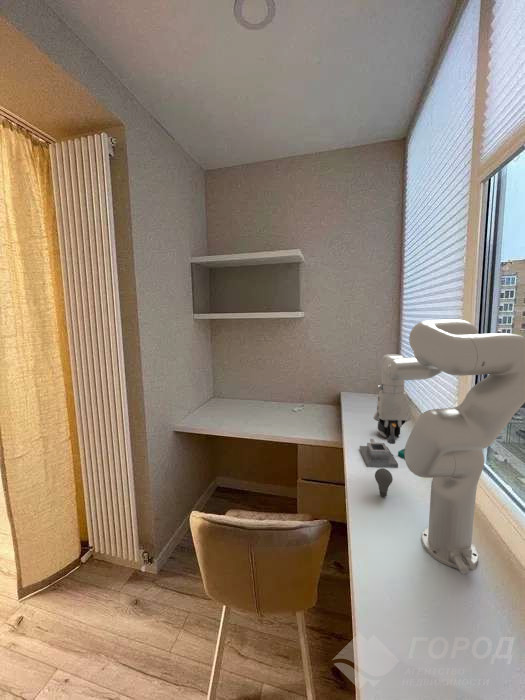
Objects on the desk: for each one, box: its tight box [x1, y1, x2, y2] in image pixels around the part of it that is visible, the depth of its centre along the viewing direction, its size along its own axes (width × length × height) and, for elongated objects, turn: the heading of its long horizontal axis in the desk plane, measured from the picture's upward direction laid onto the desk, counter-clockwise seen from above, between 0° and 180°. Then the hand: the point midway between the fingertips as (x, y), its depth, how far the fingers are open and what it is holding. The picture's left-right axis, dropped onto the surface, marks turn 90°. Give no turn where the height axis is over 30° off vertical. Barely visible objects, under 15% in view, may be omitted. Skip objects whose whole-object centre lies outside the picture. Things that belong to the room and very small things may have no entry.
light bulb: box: [374, 467, 393, 498], centre depth 95 cm, size 6×6×10 cm
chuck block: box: [359, 438, 399, 468], centre depth 120 cm, size 16×12×5 cm
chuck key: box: [386, 420, 397, 445], centre depth 104 cm, size 7×3×9 cm, turn 173°
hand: (391, 435), depth 104 cm, fingers closed on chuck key, 2 cm apart
